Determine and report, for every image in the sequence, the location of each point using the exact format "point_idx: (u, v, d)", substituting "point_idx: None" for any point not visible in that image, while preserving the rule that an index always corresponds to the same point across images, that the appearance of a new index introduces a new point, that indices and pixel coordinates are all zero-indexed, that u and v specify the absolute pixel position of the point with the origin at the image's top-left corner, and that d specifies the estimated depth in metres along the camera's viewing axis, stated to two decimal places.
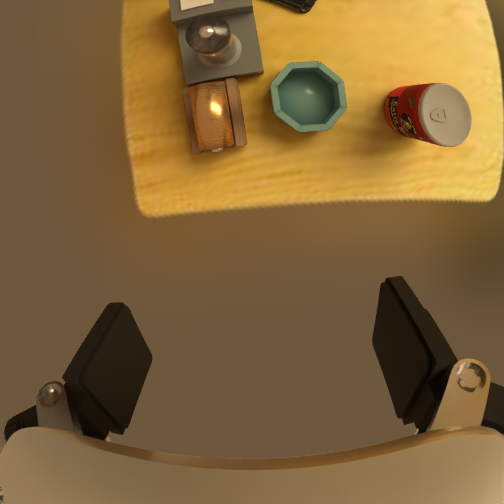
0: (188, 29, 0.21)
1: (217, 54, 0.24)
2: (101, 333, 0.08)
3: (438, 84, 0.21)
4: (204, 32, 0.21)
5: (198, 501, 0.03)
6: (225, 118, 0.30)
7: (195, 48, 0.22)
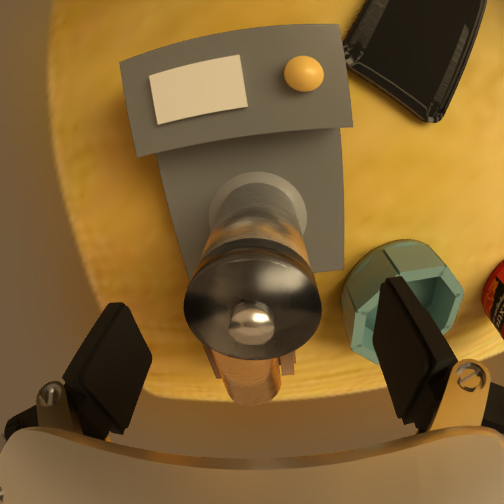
0: (190, 299, 0.09)
1: None
2: (101, 333, 0.08)
3: None
4: (245, 332, 0.09)
5: (198, 501, 0.03)
6: (271, 371, 0.18)
7: (220, 349, 0.10)
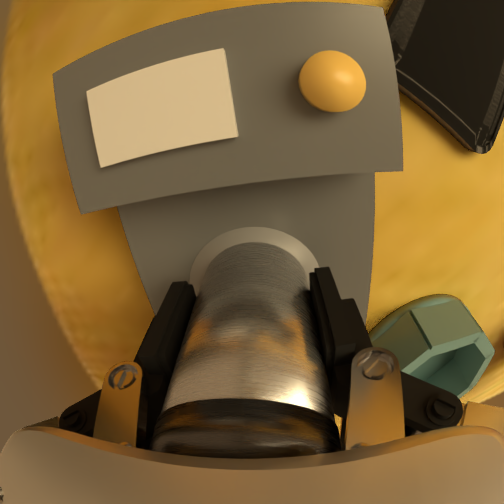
0: None
1: None
2: (173, 309, 0.09)
3: None
4: None
5: (198, 501, 0.03)
6: None
7: None
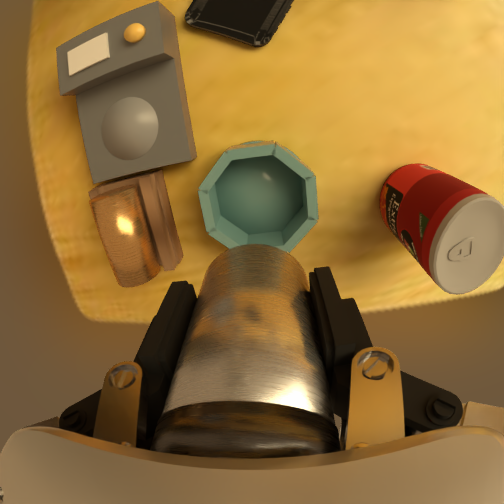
0: None
1: None
2: (173, 309, 0.09)
3: (473, 200, 0.13)
4: None
5: (198, 501, 0.03)
6: (138, 246, 0.22)
7: None
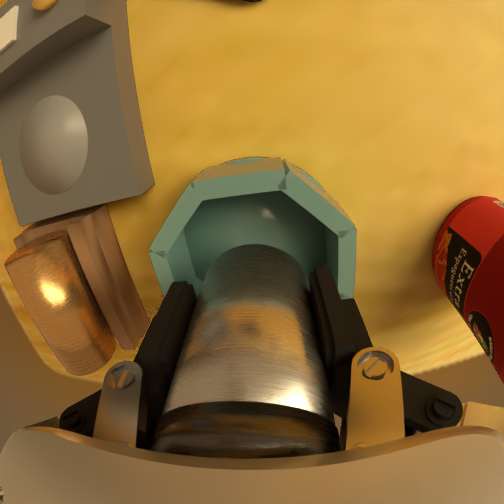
0: None
1: None
2: (173, 309, 0.09)
3: None
4: None
5: (198, 501, 0.03)
6: (75, 328, 0.13)
7: None
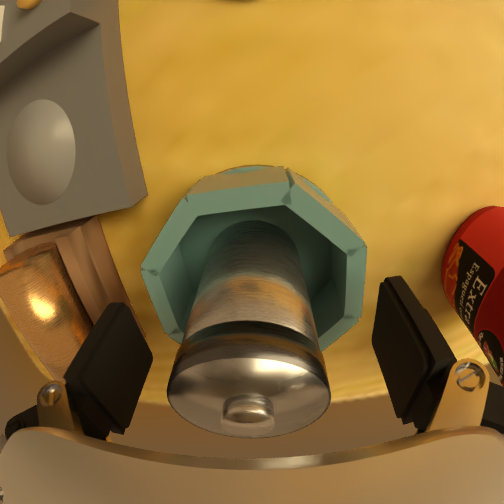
0: (173, 390, 0.07)
1: None
2: (102, 333, 0.08)
3: None
4: (240, 426, 0.06)
5: (198, 501, 0.03)
6: (66, 345, 0.12)
7: (212, 430, 0.08)
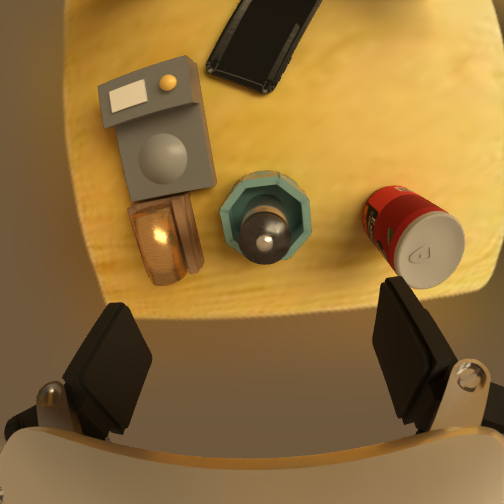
0: (241, 233, 0.24)
1: None
2: (101, 333, 0.08)
3: (427, 217, 0.20)
4: (262, 244, 0.23)
5: (198, 501, 0.03)
6: (171, 253, 0.29)
7: (251, 259, 0.25)
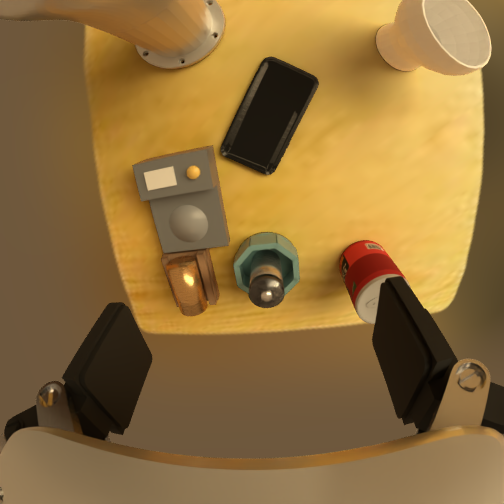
0: (250, 289, 0.35)
1: None
2: (101, 333, 0.08)
3: (380, 279, 0.31)
4: (265, 297, 0.35)
5: (198, 501, 0.03)
6: (198, 293, 0.40)
7: (257, 304, 0.36)
